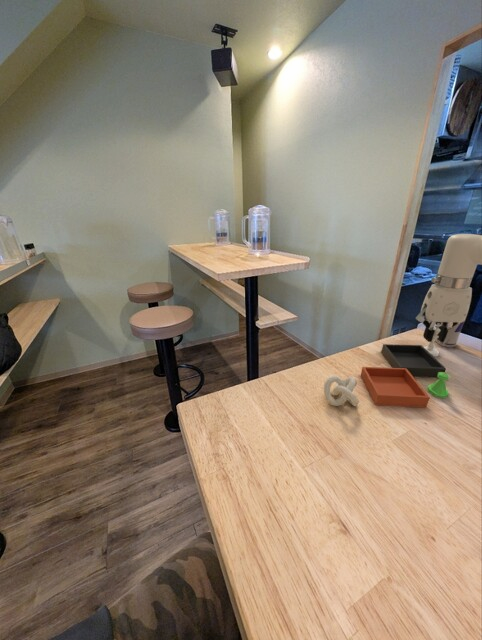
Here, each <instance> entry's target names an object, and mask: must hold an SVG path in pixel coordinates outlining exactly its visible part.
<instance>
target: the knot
mask: <svg viewBox="0 0 482 640" xmlns="http://www.w3.org/2000/svg"><path fill="white" fill-rule="evenodd" d="M333 383H336V384H337V385H336V386H335V387H334V388H333V389H332V391H331V387H332V385H333ZM356 385H357V379H356V378H355V377H354V376H349V377H347V378H345V379H344V380H343V379H342V378H341V377H339V376H338V375H331V376H329V377H328V378H327V379H325V382H324V385H323V394H324V397H325V399H326V401H327V403H329V404H330V405H332V406H335V407H339V406H341V405H344V404H345V403H346V402H347V401H348V402H349V403H350V404H351V405H352V406H354V407H357V406H358V405H359V403H360V402H359V399H358V398H357V396H356V395H355V393H353V391H354V389H355V387H356ZM331 393H332V394H331ZM340 393H341V395H340V397H339V398H337V399H335V398H334V397H333V396H338V395H339V394H340ZM332 395H333V396H332Z"/></svg>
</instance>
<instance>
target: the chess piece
mask: <svg viewBox="0 0 482 640" xmlns="http://www.w3.org/2000/svg"><path fill="white" fill-rule="evenodd" d="M440 326H441V322H436V324H435V326H434V329H433V330H435V332H434V335H433V338H432V341H431V342H428V344H427V345H422V346H423V347H424V348H425V349H426V350H427V351H428V352H429V353H430V354H431V355H432V356H433V357H438V356H439V355H440V351H439V350H438V349H437V348H436V347H435V346H436V345H435V344H436V338H439V336H437V335H438V333H439V332H440V331H441V330H440V329H439V327H440Z"/></svg>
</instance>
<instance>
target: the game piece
mask: <svg viewBox="0 0 482 640" xmlns="http://www.w3.org/2000/svg"><path fill="white" fill-rule="evenodd" d="M437 377H438V378H437V380H435V381H434V382H433V383H432V384H428V385H427V392H428V393H429V394H431V395H432V396H434V397H436V398H441V399H445V398H448V397H449V395H450V393H449V390H448V388H447V386H446V381H449V378H450V375H449V374H448V373H447V372H446V371H445V372H438V375H437Z"/></svg>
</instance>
